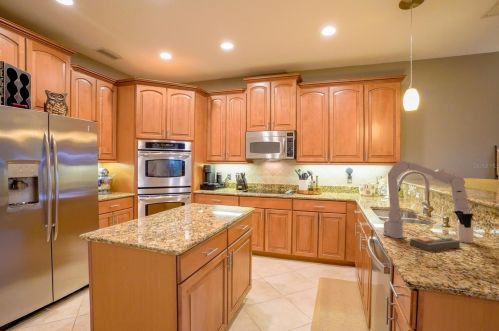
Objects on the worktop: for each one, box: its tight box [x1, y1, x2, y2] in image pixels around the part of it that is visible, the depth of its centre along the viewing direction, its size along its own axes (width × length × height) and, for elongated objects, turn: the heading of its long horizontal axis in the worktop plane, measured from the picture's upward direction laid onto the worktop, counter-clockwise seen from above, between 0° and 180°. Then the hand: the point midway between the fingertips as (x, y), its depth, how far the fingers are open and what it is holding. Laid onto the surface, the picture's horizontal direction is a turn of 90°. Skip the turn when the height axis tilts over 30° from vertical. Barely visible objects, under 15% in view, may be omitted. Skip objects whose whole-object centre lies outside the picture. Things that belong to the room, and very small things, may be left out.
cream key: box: [426, 236, 442, 242], centre depth 125 cm, size 4×4×2 cm
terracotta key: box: [417, 237, 432, 243], centre depth 123 cm, size 4×4×2 cm
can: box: [456, 219, 474, 244], centre depth 132 cm, size 6×6×12 cm
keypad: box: [409, 235, 461, 252], centre depth 125 cm, size 10×20×3 cm, turn 105°
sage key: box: [436, 235, 453, 241], centre depth 126 cm, size 4×4×2 cm
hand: (465, 226), depth 124 cm, fingers open, 7 cm apart
